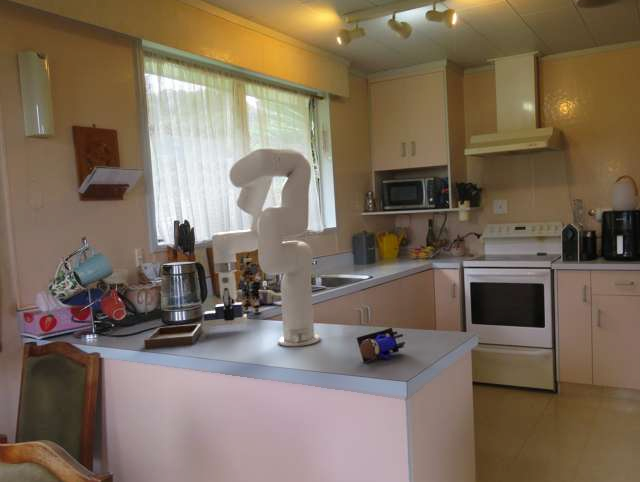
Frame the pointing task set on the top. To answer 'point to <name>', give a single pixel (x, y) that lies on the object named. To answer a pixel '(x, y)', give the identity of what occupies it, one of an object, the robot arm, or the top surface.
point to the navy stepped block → (218, 315)
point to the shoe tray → (173, 336)
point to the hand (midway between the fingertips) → (230, 318)
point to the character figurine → (379, 344)
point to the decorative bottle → (261, 297)
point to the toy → (250, 284)
